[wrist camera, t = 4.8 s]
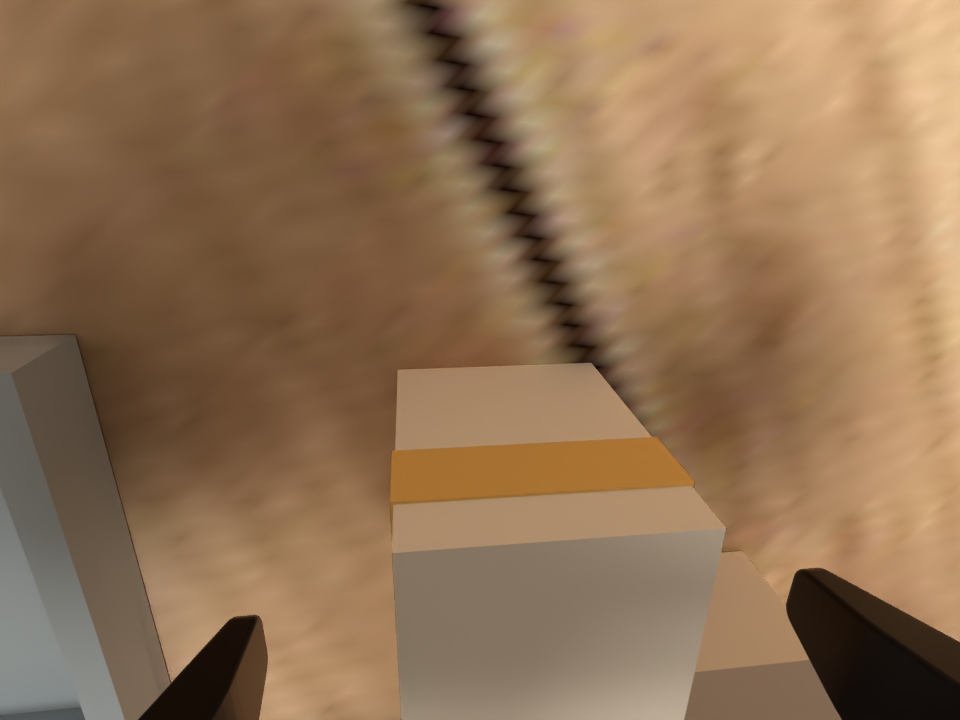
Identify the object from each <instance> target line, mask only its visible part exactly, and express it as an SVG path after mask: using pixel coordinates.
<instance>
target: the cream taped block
mask: <svg viewBox="0 0 960 720" xmlns="http://www.w3.org/2000/svg"><path fill="white" fill-rule="evenodd" d="M694 486H695V482H694V481H693V480H692V478H691V477H690V476H689V475H688V474H687V472H686V471H685V470H684V469H683V468H682V466H681V465H680V464H679V463H678V462H677V460H676V459H675V458H674V457H673V456H672V454H671V453H670V452H669V451H668V450H667V448H666V447H665V446H664V445H663V444H662V442H661V441H660V440H659V439H658V438H657V437H651V435H650V434H649V433H648V432H647V430H646V429H645V428H644V427H643V426H642V424H641V423H640V422H639V421H638V419H637V418H636V417H635V416H634V415H633V413H632V412H631V411H630V410H629V408H628V407H627V406H626V405H625V404H624V402H623V401H622V400H621V399H620V397H619V396H618V395H617V394H616V393H615V391H614V390H613V389H612V388H611V386H610V385H609V384H608V383H607V381H606V380H605V379H604V378H603V377H602V375H601V374H600V373H599V372H598V370H597V369H596V368H595V367H594V366H593V364H592V363H571V364H543V365H515V366H486V367H458V368H430V369H402V370H398V376H397V408H396V439H395V451H392V459H391V483H390V516H391V534H392V564H393V582H394V600H395V617H396V635H397V652H398V670H399V688H400V705H401V720H684V718H685V714H686V709H687V705H688V700H689V696H690V691H691V687H692V682H693V678H694V673H695V668H696V664H697V659H698V655H699V650H700V646H701V641H702V637H703V632H704V627H705V623H706V618H707V614H708V609H709V605H710V600H711V596H712V591H713V587H714V582H715V577H716V573H717V568H718V564H719V559H720V555H721V550H722V546H723V541H724V537H725V532H726V527H725V526H724V525H723V524H722V522H721V521H720V520H719V519H718V517H717V516H716V515H715V514H714V513H713V511H712V510H711V509H710V508H709V506H708V505H707V504H706V503H705V502H704V500H703V499H702V498H701V497H700V495H699V494H698V493H697V492H696V491H695V489H694Z"/></svg>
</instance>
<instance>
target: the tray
mask: <svg viewBox="0 0 960 720" xmlns="http://www.w3.org/2000/svg"><path fill="white" fill-rule="evenodd" d="M170 684H171V683H170V680H169V676H168V672H167V669H166V665H165V662H164V658H163V654H162V651H161V647H160V643H159V640H158V636H157V632H156V629H155V625H154V621H153V618H152V614H151V610H150V607H149V603H148V599H147V596H146V592H145V588H144V585H143V581H142V577H141V574H140V570H139V566H138V563H137V559H136V556H135V552H134V548H133V545H132V541H131V537H130V534H129V530H128V526H127V523H126V519H125V515H124V512H123V508H122V504H121V501H120V497H119V493H118V490H117V486H116V482H115V479H114V475H113V471H112V468H111V464H110V460H109V457H108V453H107V450H106V446H105V442H104V439H103V435H102V431H101V428H100V424H99V420H98V417H97V413H96V409H95V406H94V402H93V398H92V395H91V391H90V387H89V384H88V380H87V376H86V373H85V369H84V365H83V362H82V358H81V354H80V351H79V347H78V344H77V340H76V336H75V334H74V335H36V336H0V720H138V719H139V718H140V716H141V715H142V714H143V713H144V712H145V711H146V710H147V709H148V708H149V707H150V706H151V704H152V703H153V702H154V701H155V700H156V699H157V698H158V697H159V696H160V695H161V694H162V692H163V691H164V690H165V689H166V688H167V687H168V686H169V685H170Z"/></svg>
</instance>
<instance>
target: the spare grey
mask: <svg viewBox="0 0 960 720" xmlns="http://www.w3.org/2000/svg"><path fill="white" fill-rule="evenodd" d="M684 720H842V719H841V718H840V716H839V714H838V713H837V711H836V709H835V708H834V706H833V704H832V702H831V700H830V698H829V697H828V695H827V693H826V691H825V689H824V687H823V685H822V683H821V681H820V679H819V677H818V675H817V674H816V672H815V670H814V668H813V666H812V664H811V662H810V660H809V658H808V656H807V654H806V652H805V650H804V648H803V646H802V644H801V642H800V641H799V639H798V637H797V635H796V633H795V631H794V629H793V627H792V625H791V623H790V621H789V619H788V616H787V611H786V605H785V603H784V602H783V601H782V600H781V599H780V597H779V596H778V595H777V594H776V592H775V591H774V590H773V589H772V587H771V586H770V585H769V584H768V582H767V581H766V580H765V579H764V578H763V576H762V575H761V574H760V573H759V571H758V570H757V569H756V568H755V566H754V565H753V564H752V563H751V561H750V560H749V559H748V558H747V557H746V555H745V554H744V553H743V552H742V551H734V552H722V553H721V555H720V559H719V564H718V568H717V573H716V577H715V582H714V587H713V591H712V596H711V600H710V605H709V609H708V614H707V618H706V623H705V627H704V632H703V637H702V641H701V646H700V650H699V655H698V659H697V664H696V668H695V673H694V678H693V682H692V687H691V691H690V696H689V700H688V705H687V709H686V714H685V718H684Z"/></svg>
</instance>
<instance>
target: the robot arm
mask: <svg viewBox="0 0 960 720" xmlns="http://www.w3.org/2000/svg"><path fill="white" fill-rule="evenodd" d="M786 611H787V616H788V619H789V621H790V623H791V625H792V627H793V629H794V631H795V633H796V635H797V637H798V639H799V641H800V642H801V644H802V646H803V648H804V650H805V652H806V654H807V656H808V658H809V660H810V662H811V664H812V666H813V668H814V670H815V672H816V674H817V675H818V677H819V679H820V681H821V683H822V685H823V687H824V689H825V691H826V693H827V695H828V697H829V698H830V700H831V702H832V704H833V706H834V708H835V709H836V711H837V713H838V714H839V716H840V718H841V719H842V720H960V642H958V641H957V640H955V639H953V638H951V637H949V636H947V635H945V634H944V633H942V632H940V631H938V630H936V629H934V628H933V627H931V626H929V625H927V624H925V623H923V622H921V621H920V620H918V619H916V618H914V617H912V616H910V615H909V614H907V613H905V612H903V611H901V610H899V609H897V608H896V607H894V606H892V605H890V604H888V603H886V602H885V601H883V600H881V599H879V598H877V597H875V596H873V595H872V594H870V593H868V592H866V591H864V590H862V589H861V588H859V587H857V586H855V585H853V584H851V583H849V582H848V581H846V580H844V579H842V578H840V577H838V576H837V575H835V574H833V573H831V572H829V571H827V570H825V569H822V568H809V569H800V570H798V571H797V572H796V573H795V575H794V578H793V582H792V585H791V589H790V592H789V596H788V599H787V603H786ZM267 664H268V654H267V647H266V642H265V636H264V630H263V624H262V620H261V618H260V617H259V616H257V615H249V616H237V617H233V618H231V619H230V620H229V621H228V622H227V623H226V624H225V625H224V626H223V627H222V628H221V629H220V630H219V631H218V633H217V634H216V635H215V636H214V637H213V638H212V639H211V640H210V641H209V642H208V643H207V645H206V646H205V647H204V648H203V649H202V650H201V651H200V652H199V653H198V654H197V655H196V657H195V658H194V659H193V660H192V661H191V662H190V663H189V664H188V665H187V666H186V667H185V669H184V670H183V671H182V672H181V673H180V674H179V675H178V676H177V677H176V678H175V679H174V680H173V682H172V683H171V684H170V685H169V686H168V687H167V688H166V689H165V690H164V691H163V692H162V694H161V695H160V696H159V697H158V698H157V699H156V700H155V701H154V702H153V703H152V704H151V706H150V707H149V708H148V709H147V710H146V711H145V712H144V713H143V714H142V715H141V716H140V718H139V719H138V720H259V716H260V710H261V703H262V697H263V691H264V685H265V679H266V673H267Z"/></svg>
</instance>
